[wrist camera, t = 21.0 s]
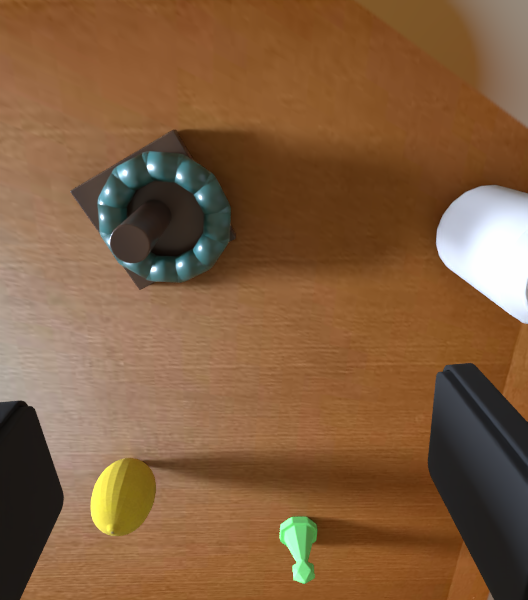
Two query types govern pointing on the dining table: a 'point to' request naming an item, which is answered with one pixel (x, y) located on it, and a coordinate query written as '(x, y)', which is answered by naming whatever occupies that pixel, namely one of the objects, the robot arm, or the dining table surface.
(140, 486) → the lemon
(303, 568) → the game piece
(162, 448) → the dining table surface
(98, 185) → the post
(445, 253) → the can
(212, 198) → the ring
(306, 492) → the dining table surface
